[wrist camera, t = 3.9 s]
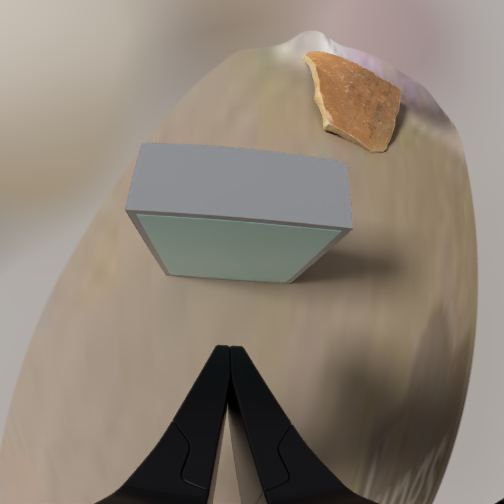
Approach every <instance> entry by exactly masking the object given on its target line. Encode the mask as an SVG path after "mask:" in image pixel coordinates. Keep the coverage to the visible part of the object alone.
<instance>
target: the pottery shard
mask: <svg viewBox="0 0 504 504" xmlns="http://www.w3.org/2000/svg"><path fill="white" fill-rule="evenodd" d="M302 59H303V60H304V62H305V63H306V64H307V65H308V66H309V67H310V70H311V72H312V77H313V81H314V85H315V97H314V101H315V102H316V103H317V105H318V107H319V109H320V112H321V114H322V118H323V128H324V130H326V131H330V132H334V133H335V134H338V135H340V136H341V137H343V138H344V139H346V140H348V141H350V142H353V143H355V144H358V145H360V146H361V147H363V148H365V149H366V150H368V151H370V152H371V153H382V152H384V151H385V150H386V148H387V145H388V143H389V142H390V140H391V136H392V134H393V130H394V128H395V118H396V116H397V114H398V113H399V106H400V98H401V90H400V89H399V88H397V87H396V86H394V85H392V84H391V83H389V82H387V81H385V80H383V79H382V78H380V77H378V76H377V75H375V74H374V73H373V72H371V71H369V70H367V69H366V68H363V67H361V66H360V65H358V64H356V63H354V62H351V61H349V60H347V59H345V58H342V57H339V56H336V55H333V54H329V53H325V52H320V51H314V52H308V53H307V54H306V55H305V56H304V57H303V58H302Z"/></svg>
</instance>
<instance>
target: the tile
mask: <svg viewBox="0 0 504 504" xmlns="http://www.w3.org/2000/svg"><path fill="white" fill-rule="evenodd" d="M125 210H126V212H127V214H128V216H129V217H130V219H131V221H132V222H133V224H134V225H135V227H136V229H137V230H138V232H139V234H140V235H141V237H142V239H143V240H144V242H145V243H146V245H147V246H148V248H149V250H150V251H151V253H152V254H153V256H154V257H155V259H156V261H157V262H158V264H159V265H160V267H161V268H162V270H163V271H164V273H165V274H166V275H172V276H184V277H197V278H210V279H224V280H238V281H253V282H269V283H287V284H290V283H291V282H292V281H294V280H295V279H296V278H297V277H298V276H299V275H301V274H302V273H303V272H304V271H305V270H307V269H308V268H309V267H310V266H311V265H312V264H314V263H315V262H316V261H317V260H318V259H319V258H320V257H322V256H323V255H324V254H325V253H326V252H327V251H328V250H330V249H331V248H332V247H333V246H334V245H335V244H336V243H338V242H339V241H340V240H341V239H342V238H343V237H344V236H345V235H347V234H348V233H349V232H350V231H351V230H352V229H353V219H352V208H351V199H350V190H349V182H348V174H347V167H346V162H341V161H335V160H329V159H323V158H317V157H310V156H303V155H296V154H289V153H281V152H273V151H264V150H255V149H245V148H234V147H222V146H208V145H191V144H167V143H142V144H141V148H140V151H139V155H138V158H137V162H136V166H135V170H134V174H133V178H132V182H131V186H130V190H129V194H128V199H127V203H126V208H125Z"/></svg>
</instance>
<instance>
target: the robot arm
mask: <svg viewBox="0 0 504 504" xmlns="http://www.w3.org/2000/svg"><path fill="white" fill-rule="evenodd" d="M227 409H228V419H229V426H230V433H231V440H232V447H233V454H234V461H235V467H236V473H237V480H238V486H239V492H240V498H241V504H379V503H376V502H374V501H371V500H369V499H366V498H364V497H361V496H359V495H357V494H356V493H354V492H352V491H351V490H350V489H348V488H347V487H346V486H345V485H344V484H343V483H342V482H341V481H340V480H339V479H338V478H337V477H336V476H335V475H334V474H333V473H332V472H331V471H330V470H329V469H328V468H327V467H326V466H325V465H324V464H323V463H322V461H321V460H320V459H319V458H318V457H317V456H316V455H315V454H314V453H313V451H312V450H311V449H310V448H309V447H308V446H307V444H306V443H305V441H304V440H303V439H302V437H301V436H300V435H299V433H298V432H297V430H296V429H295V427H294V426H293V425H291V424H292V423H291V422H290V420H289V419H288V417H287V415H286V414H285V412H284V411H283V409H282V408H281V406H280V405H279V403H278V402H277V400H276V399H275V397H274V395H273V394H272V392H271V391H270V389H269V388H268V386H267V384H266V383H265V381H264V380H263V378H262V377H261V375H260V373H259V372H258V370H257V369H256V367H255V365H254V364H253V362H252V360H251V359H250V357H249V356H248V354H247V352H246V351H245V349H244V348H243V347H242V346H230V348H229V346H227V345H217V346H216V347H215V348H214V350H213V352H212V353H211V355H210V357H209V359H208V360H207V362H206V364H205V366H204V367H203V369H202V371H201V372H200V374H199V376H198V378H197V379H196V381H195V383H194V384H193V386H192V388H191V390H190V391H189V393H188V395H187V396H186V398H185V400H184V401H183V403H182V405H181V407H180V408H179V410H178V412H177V413H176V415H175V417H174V418H173V421H172V422H171V423H170V425H169V427H168V428H167V430H166V431H165V433H164V434H163V436H162V438H161V439H160V441H159V442H158V443H157V445H156V446H155V447H154V449H153V450H152V451H151V453H150V454H149V455H148V456H147V457H146V459H145V460H144V461H143V462H142V463H141V465H140V466H139V467H138V468H137V469H136V470H135V472H134V473H133V474H132V475H131V476H130V477H129V478H128V480H127V481H126V482H125V483H124V484H123V485H122V486H121V487H120V488H119V489H118V490H116V491H115V492H114V493H112V494H111V495H109V496H108V497H106V498H104V499H102V500H100V501H98V502H96V503H95V504H213V499H214V492H215V486H216V479H217V472H218V466H219V459H220V452H221V446H222V439H223V433H224V426H225V420H226V412H227ZM495 504H504V498H503V499H502V500H500V501H498V502H497V503H495Z"/></svg>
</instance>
